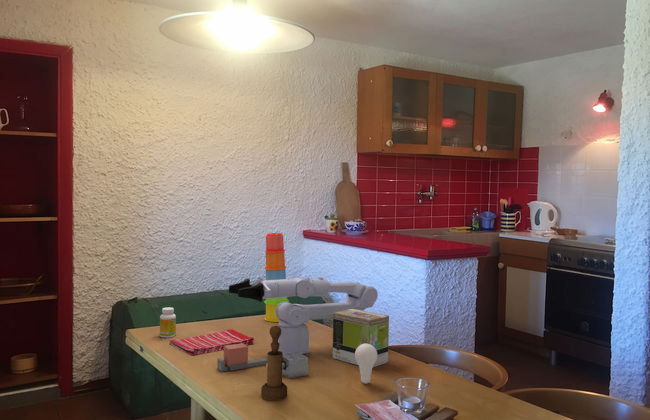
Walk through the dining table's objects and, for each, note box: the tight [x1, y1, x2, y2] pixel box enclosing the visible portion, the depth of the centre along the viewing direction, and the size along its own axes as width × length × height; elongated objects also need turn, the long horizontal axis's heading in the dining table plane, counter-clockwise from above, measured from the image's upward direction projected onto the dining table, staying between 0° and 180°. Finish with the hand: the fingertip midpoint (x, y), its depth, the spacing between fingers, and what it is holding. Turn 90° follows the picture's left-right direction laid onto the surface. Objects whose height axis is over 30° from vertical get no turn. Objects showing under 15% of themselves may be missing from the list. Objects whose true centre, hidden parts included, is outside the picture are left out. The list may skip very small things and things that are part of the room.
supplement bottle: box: [159, 306, 177, 339], centre depth 198 cm, size 5×5×10 cm
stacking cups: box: [263, 232, 290, 323], centre depth 225 cm, size 10×10×35 cm
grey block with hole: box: [282, 352, 309, 379], centre depth 161 cm, size 6×6×5 cm
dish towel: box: [168, 328, 255, 356], centre depth 190 cm, size 17×24×3 cm
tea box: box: [332, 309, 390, 369], centre depth 175 cm, size 15×10×15 cm, turn 47°
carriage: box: [223, 343, 249, 372], centre depth 165 cm, size 6×4×6 cm
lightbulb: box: [355, 344, 377, 385], centre depth 154 cm, size 6×6×11 cm
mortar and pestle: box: [260, 325, 288, 401], centre depth 144 cm, size 7×6×18 cm
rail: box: [217, 357, 267, 373], centre depth 167 cm, size 18×3×3 cm, turn 120°
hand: (233, 291), depth 171 cm, fingers open, 7 cm apart
